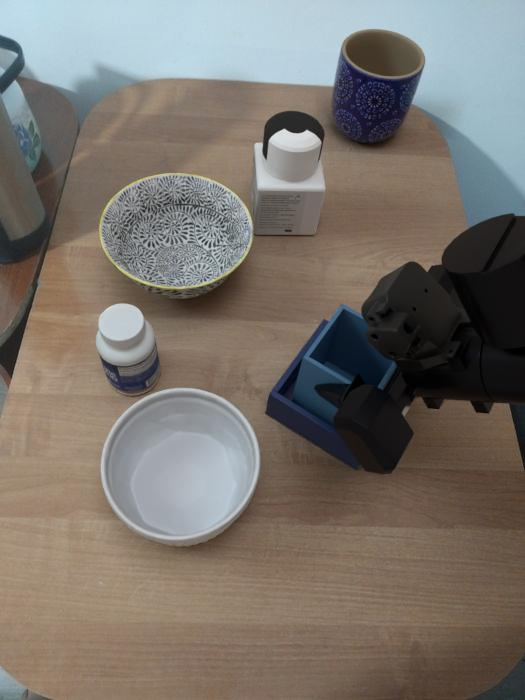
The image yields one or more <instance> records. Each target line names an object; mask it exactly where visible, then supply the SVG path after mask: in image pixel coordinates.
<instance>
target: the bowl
mask: <svg viewBox="0 0 525 700" xmlns="http://www.w3.org/2000/svg"><path fill="white" fill-rule="evenodd" d="M98 232H99V240H100V244H101V247H102V249H103V252H104V254H105V255H106V257H107V258H108V259H109V261H110V263H112V264H113V265H114V266H115V268H117V269H118V270H119V271H120V272H121V273H122V274H124V275H125V276H126V277H128V279H129V280H130V281H132V282H133V283H134V284H135V285H136V286H138V287H139V288H141V289H142V290H144V291H146V292H148V293H150V294H153V295H155V296H158V297H162V298H167V299H173V300H174V299H175V300H176V299H177V300H178V299H179V300H180V299H183V300H184V299H189V298H191V299H192V298H195V297H199V296H202V295H205V294H207V293H209V292H211V291H213V290H215V289H216V288H217V287H218V286H220V285H222V284H223V283H224V282H225V281H226V280H227V279H228V278H230V276H231V275H232V273H233V272H234V271H235V270H237V268H239V266H241V264H242V263H243V262H244V261H245V259H246V257H247V256H248V254H249V252H250V249H251V247H252V245H253V241H254V235H255V234H254V228H253V217H252V215H251V213H250V210H249V209H248V207H247V206H246V204H245V203H244V201H243V200H242V199H241V197H239V196H238V195H237V194H236V193H235V192H234V191H233V190H232V189H230V188H228V187H227V186H225V185H224V184H222V183H220V182H218V181H216V180H213V179H211V178H208V177H205V176H202V175H198V174H194V173H193V174H192V173H184V172H167V173H160V174H154V175H150V176H146V177H143V178H140V179H138V180H136V181H133V182H131V183H129V184H128V185H126V186H125V187H123V188H122V189H120V190H119V191H118V192H117V193H116V194H114V195H113V197H112V198H111V199H110V200H109V201H108V203H107V204H106V206H105V208H104V210H103V211H102V214H101V216H100V220H99V228H98Z"/></svg>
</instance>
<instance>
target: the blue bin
mask: <svg viewBox="0 0 525 700" xmlns="http://www.w3.org/2000/svg"><path fill="white" fill-rule="evenodd" d="M328 321H329V322H328V324H327V325H326V326H325V328H324V329H323V331H322V332H321V333H320V335H319V336H318V337H317V339H316V340H315V342H314V343H313V344H312V346H311V347H310V349H309V350H308V351H307V353H306V354H305V355H304V357H303V359H302V363H301V367H300V371H299V374H298V378H297V382H296V386H295V390H294V393H293V397H292V402H293V403H295V404H297V405H298V406H300V407H302V408H303V409H305V410H306V411H308V412H310V413H311V414H313V415H315V416H316V417H318V418H319V419H321V420H323V421H324V422H326V423H327V424H329V425H331V426H332V427H333V417H334V416H335V414H336V413H337V411H338V410H339V409H338V408H336V407H335V406H334V405H332V404H331V403H329V402H328V401H326V400H325V399H323V398H322V397H321V396H319V395H318V394H317V392H316V391H315V389H314V387H315V385H317V384H324V383H337V384H351V382H352V381H353V379H354V378H355V376H356V375H357V374H358V373H359V374H360V376H361V377H362V379H363V380H364V382H365V383H366V385H375V386H377V387H378V388H380V389H382V390H384V388H385V387H386V385H387V383H388V381H389V380H390V378H391V376H392V374H393V373H394V371H395V369H396V364H395V362H394V361H393V360H389V359H386V358H385V357H384V356H383V355H382V354H381V353H379V352H378V351H377V350H376V349H375V348H374V347H373V346H372V345H371V344H370V343H369V342H368V341H367V339H366V336H365V333H366V332H367V330H368V329H369V324H368V323H367V322H366V321H365V320H364V319H363V317H362V313H361V312H359V311H357V310H355V309H353V308H351V307H349V306H348V305H345V304H344V303H341V304H340V306H339V307H338V309H337V310H336V311H335V313H334V314H333V315H332V316H331V318H330V320H328Z"/></svg>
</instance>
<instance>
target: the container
mask: <svg viewBox="0 0 525 700" xmlns="http://www.w3.org/2000/svg"><path fill="white" fill-rule="evenodd" d="M263 128H264V129H263V138H262V142H255V143H254V146H253V157H252V168H251V169H252V170H251V183H250V198H251V199H250V200H251V212H252V213H251V214H252V215H251V216H252V222H253V228H254V235H263V236H265V235H266V236H267V235H271V236H273V235H274V236H275V235H276V236H314V235H316V234H317V230H318V225H319V222H320V217H321V212H322V208H323V203H324V199H325V196H326V190H327V188H326V187H327V186H326V181H325V176H324V175H325V173H324V168H323V161H322V150H323V146H324V140H325V130H324V128H323V125H322V124H321V122H320V121H318V119H316V118H315V117H314V116H313V115H311V114H308V113H306V112H302V111H299V110H284V111H280V112H278V113H276V114H274V115H272V116H271V117H270V118H268V120H267V121H266V122H265V124H264V127H263Z"/></svg>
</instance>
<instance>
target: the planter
mask: <svg viewBox="0 0 525 700" xmlns="http://www.w3.org/2000/svg"><path fill="white" fill-rule="evenodd" d="M425 64H426V56H425V53H424V51H423V49H422V48H421V47H420V45H418V43H416V42H415V41H414V40H413V39H411V38H409V37H408V36H406V35H405V34H404V35H403V34H402V33H399V32H396V31H393V30H388V29H381V28H368V29H361V30H358V31H355V32H353V33H351V34H349V35H348V36H346V38H345V39H344V40H343V42H342V44H341V47H340V50H339V55H338V60H337V65H336V69H335V75H334V81H333V87H332V93H331V102H330V108H331V109H330V111H331V116H332V119H333V122H334V124H335V126H336V128H337V129H338V130H339V132H340V133H341V134H343V135H344V136H345V137H346V138H348V139H350V140H352V141H354V142H357V143H361V144H378V143H380V142H384V141H385V140H388V139H389V138H391V137H392V136H394V135H395V134H396V133H397V132H398V131H399V130H400V129H401V127H402V126H403V124H404V122H405V120H406V118H407V116H408V114H409V112H410V109H411V107H412V104H413V101H414V98H415V96H416V93H417V90H418V87H419V84H420V81H421V79H422V76H423V72H424V69H425V66H426V65H425Z"/></svg>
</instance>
